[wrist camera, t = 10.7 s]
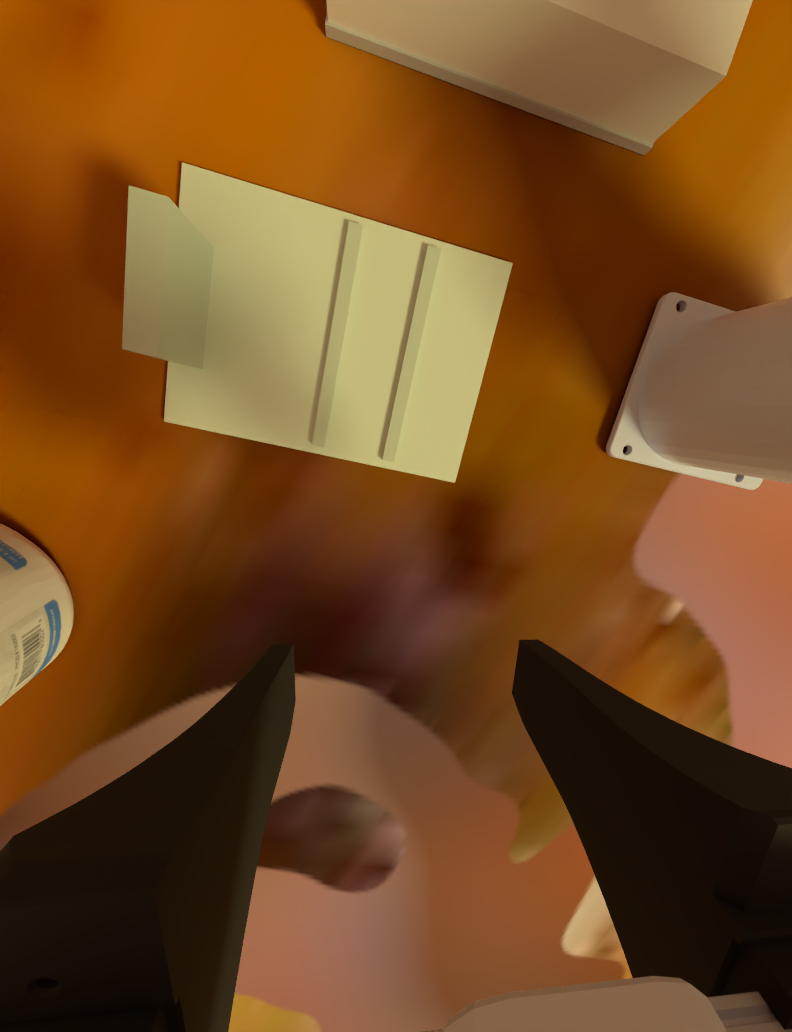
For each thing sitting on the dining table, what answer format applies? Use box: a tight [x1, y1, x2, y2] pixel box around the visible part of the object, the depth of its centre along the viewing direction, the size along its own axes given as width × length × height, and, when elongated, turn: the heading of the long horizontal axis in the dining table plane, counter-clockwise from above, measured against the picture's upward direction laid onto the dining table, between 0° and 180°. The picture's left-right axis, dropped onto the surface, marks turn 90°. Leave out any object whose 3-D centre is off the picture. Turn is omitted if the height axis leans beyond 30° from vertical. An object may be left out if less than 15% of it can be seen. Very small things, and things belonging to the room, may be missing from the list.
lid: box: [122, 162, 513, 483], centre depth 16 cm, size 14×10×5 cm
